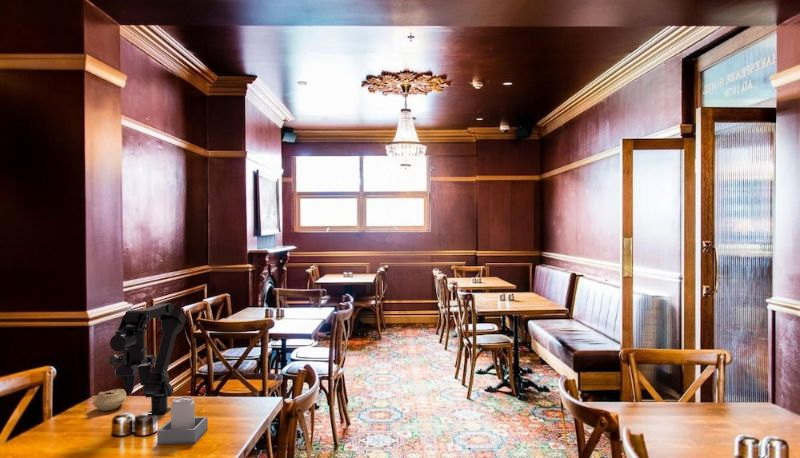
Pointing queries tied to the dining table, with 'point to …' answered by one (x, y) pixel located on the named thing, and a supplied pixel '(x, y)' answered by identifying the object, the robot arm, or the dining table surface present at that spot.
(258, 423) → the dining table surface
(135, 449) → the dining table surface
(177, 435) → the open box
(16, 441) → the dining table surface
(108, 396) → the oil lamp
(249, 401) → the dining table surface
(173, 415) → the can
